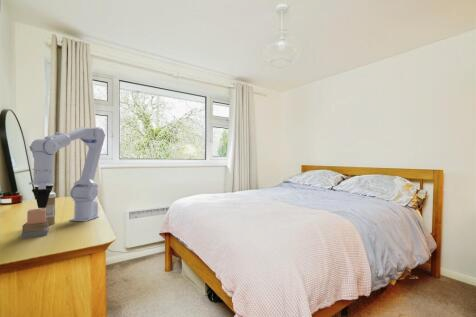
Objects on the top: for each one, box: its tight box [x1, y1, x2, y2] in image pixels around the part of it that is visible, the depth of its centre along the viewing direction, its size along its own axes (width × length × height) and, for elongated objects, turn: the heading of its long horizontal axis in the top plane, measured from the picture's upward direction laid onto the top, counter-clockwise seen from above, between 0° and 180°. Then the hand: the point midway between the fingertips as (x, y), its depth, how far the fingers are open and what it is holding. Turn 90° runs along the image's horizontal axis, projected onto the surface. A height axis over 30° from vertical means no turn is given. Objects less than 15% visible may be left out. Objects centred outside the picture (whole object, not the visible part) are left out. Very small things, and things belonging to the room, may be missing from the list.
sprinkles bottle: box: [46, 192, 57, 226], centre depth 98 cm, size 5×5×14 cm
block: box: [26, 208, 46, 225], centre depth 86 cm, size 5×5×4 cm
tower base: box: [21, 225, 50, 240], centre depth 85 cm, size 7×7×2 cm
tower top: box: [21, 220, 48, 234], centre depth 85 cm, size 6×6×2 cm
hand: (42, 206), depth 87 cm, fingers open, 7 cm apart
